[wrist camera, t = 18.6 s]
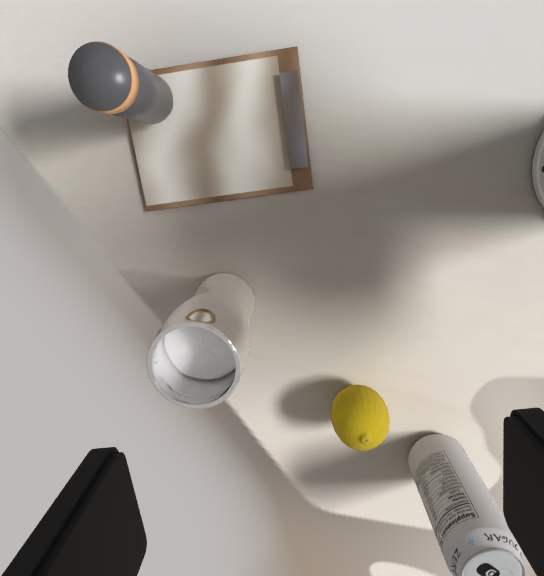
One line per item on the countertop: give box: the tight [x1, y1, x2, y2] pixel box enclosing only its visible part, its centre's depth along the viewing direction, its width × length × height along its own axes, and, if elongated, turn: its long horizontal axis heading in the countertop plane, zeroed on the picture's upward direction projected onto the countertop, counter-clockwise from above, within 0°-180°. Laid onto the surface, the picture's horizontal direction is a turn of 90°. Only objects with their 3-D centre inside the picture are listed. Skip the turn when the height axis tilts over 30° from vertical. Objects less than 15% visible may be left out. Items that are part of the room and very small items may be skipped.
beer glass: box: [147, 273, 255, 409], centre depth 38 cm, size 7×7×15 cm
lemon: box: [331, 385, 389, 451], centre depth 43 cm, size 6×6×8 cm
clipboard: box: [127, 47, 313, 211], centre depth 40 cm, size 16×12×1 cm
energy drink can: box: [408, 434, 526, 576], centre depth 41 cm, size 6×6×15 cm
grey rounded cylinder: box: [68, 42, 173, 124], centre depth 34 cm, size 4×4×12 cm
